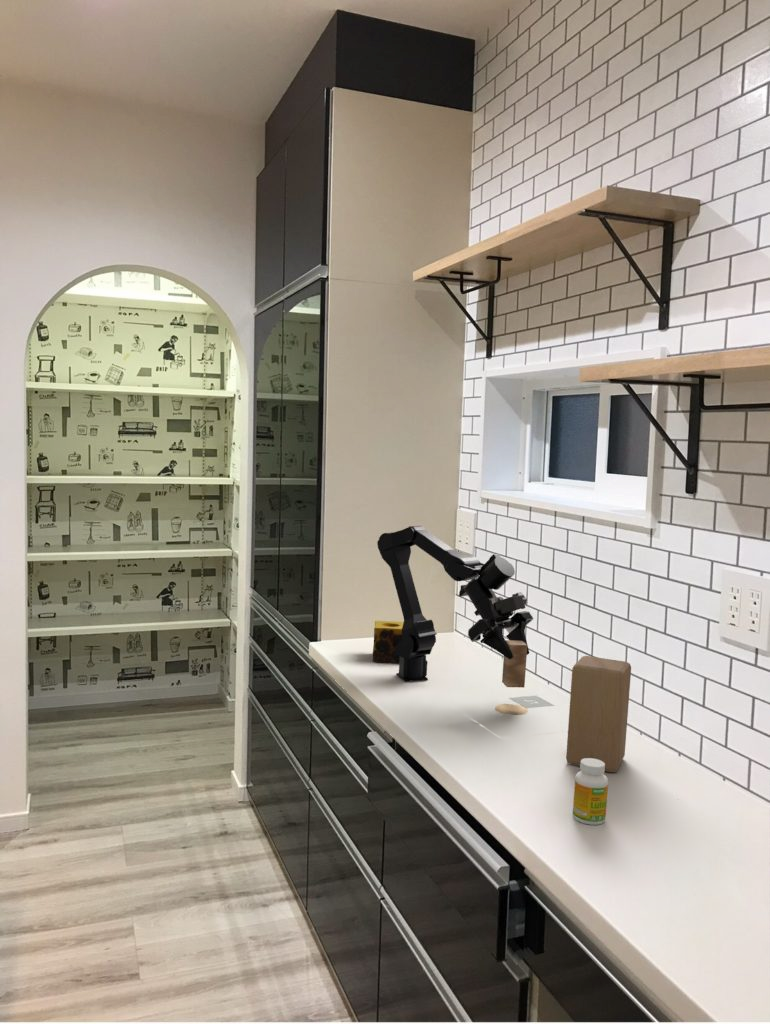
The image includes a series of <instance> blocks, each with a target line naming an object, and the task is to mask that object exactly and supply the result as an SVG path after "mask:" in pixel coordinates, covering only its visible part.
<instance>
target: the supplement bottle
mask: <svg viewBox="0 0 770 1024" xmlns="http://www.w3.org/2000/svg"><path fill="white" fill-rule="evenodd" d="M605 772H606V771H605V763H604V762H602V761H601V760H598V759H593V758H584V759H582V760H581V762H580V766H579V771H578V772H577V773H576V774H575V777H574V788H573V790H574V791H573V804H572V817H573V818H574V819H575V821H577V822H579V823H582V824H584V825H590V826H591V825H592V826H599V825H602V824H603V823H604V822H605V821H606V815H607V803H608V789H609V779H608V777H607V776H606V775H605Z"/></svg>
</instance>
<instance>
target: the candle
mask: <svg viewBox="0 0 770 1024" xmlns="http://www.w3.org/2000/svg"><path fill="white" fill-rule="evenodd" d="M403 623H404V621H397V620H396V621H393V620H391V621H390V620H374V627H373V628H374V629H373V646H372V662H373V663H376V664H397V665H399V660H400V656H396V654H395V649H394V647H395V646H396V645H397V644H398V643H399V642H400V641H401V640H402V627H403Z"/></svg>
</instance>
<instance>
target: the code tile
mask: <svg viewBox="0 0 770 1024" xmlns="http://www.w3.org/2000/svg"><path fill="white" fill-rule="evenodd" d="M508 699H510V700H511V701H513V702H514V703H516V704H517V705H519V706H523V707H525V708H526V709H531V708H534V709H535V708H542V707H555V705H554V704H552V703H551V702H549V701H547V700H546V699H543V698H541V697H540V696H539V695H527V696H526V695H525V696H516V697H508Z"/></svg>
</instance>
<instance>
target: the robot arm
mask: <svg viewBox="0 0 770 1024" xmlns="http://www.w3.org/2000/svg"><path fill="white" fill-rule="evenodd" d="M376 544H377V548H378V551H379V554H380V556H381V559H382V560H383V561H384V562H385V563H386V565H388V566H389V569H390V571H391V576H392V580H393V583H394V586H395V590H396V593H397V598H398V601H399V604H400V609H401V613H402V616H403V622H404V623H403V627H402V640H401V641H400V642H399V643H398V644H397V645H396V646H395V647H394V649H395V654H396V656H400V660H399V664H398V672H397V673H396V674H395V675H396V677H398V678H399V679H400V680H402V681H404V682H406V683H407V682H421V681H422V682H423V681H428V680H429V678H428V677H427V674H428V660H427V655H431V653H432V650H433V647H434V646H435V644H436V642H437V637H436V636H437V634H438V633H437V632H436V630H435V626H434V621H433V620H432V619H427V618H426V617H425V616H424V615H423V612H422V608H421V604H420V600H419V597H418V594H417V589H416V586H415V582H414V579H413V574H412V571H411V567H410V564H409V562H410V558H411V553H412V550H411V549H412V548H411V547H413V546H416V547H418V548H419V549H421V550H422V551H423V552H425V553H426V554H427V555H429V556H430V557H431V558H433V559H434V560H436V561H437V562H439V563H440V564H441V565H442V566H443V569H444V572H445V573H446V574H447V575H448V576H449V577H450V578H451V579H452V580H453V581H455V582H464V581H468V583H466V584H461V585H460V590H459V593H458V596H459V597H460V598H461V597H468V598H469V600H470V602H472V605H473V606H474V608H475V609H476V610H475V611H474V612H473V613H474V614H475V616H476V617H477V616H480V617H481V618H480V619H478V620H477V621H476V622H475V623H474V624H473V625H472V626H471V627H469V629H468V631H467V636H468V638H469V639H470V641H471V642H472V643H474V642H477V641H480V643H481V644H485V645H487V647H490V648H491V649H493V650H495V651H496V652H498V653H499V654H501V655H503V657H504V656H505V657H507V658H508V659H512V658H513V654H512V652H511V650H510V648H509V646H508V644H507V642H506V641H505V640H506V639H505V638H507V640H516V641H523V642H524V643H525V644H527V656H528V655H529V654H530V649H529V644H528V641H527V638H526V631H525V630H526V627H527V625H529V623H531V622H532V621H533V620H534V617H533V616H532V614H531V613H530V611H526V610H524V609H526V605H527V604H528V602H527V601H528V599H527V597H526V596H525V595H524V593H523V592H520V591H519V592H516V593H513V594H512V596H510V597H506V598H503V597H501V596H497V595H496V593H495V592H494V591H493V590H495V591H496V590H497V591H498V590H499V589H501V588H502V587H503V586H504V585H505V584H506V583H507V582H509V580H510V579H511V578H512V577H513V576H514V575H515V573H516V571H515V567H514V566H513V564H512V563H511V562H510V561H508V560H507V559H506V558H504V557H501V555H500V554H499V553H493V554H492V555H491V556H490V557H489V559H488V560H487V561H486V562H485V563H484V562H480V561H481V560H479V558H478V557H475V556H473V555H471V554H469V553H467V552H462V551H459V550H456V549H454V548H452V547H451V546H449V545H448V544H447V543H445V542H444V541H442V540H441V539H440V538H438V537H437V536H436V535H434V534H433V533H431V532H429V531H428V530H427V529H426V528H425V527H424V526H422V525H412V526H408V527H405V528H404V529H401V530H398V531H393V532H384V533H381V535H380V536H379V538H378V540H377V541H376ZM518 610H522V611H518ZM523 610H524V611H523ZM515 611H518V612H515ZM504 629H505V630H506V631H507V635H505V637H504ZM481 635H482V637H481ZM481 638H482V639H481Z"/></svg>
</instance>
